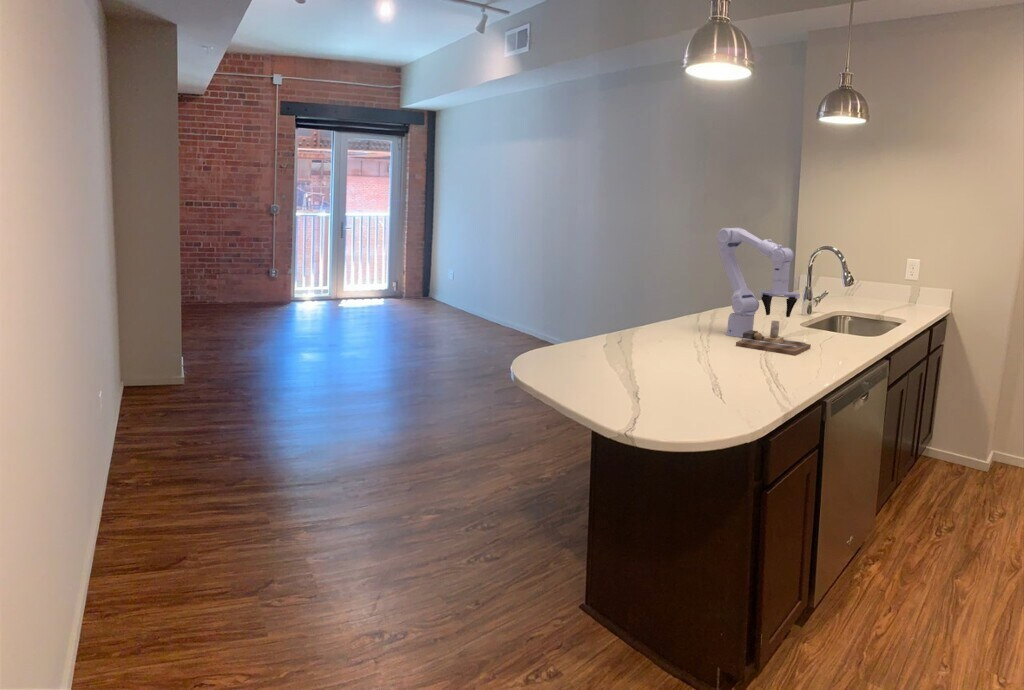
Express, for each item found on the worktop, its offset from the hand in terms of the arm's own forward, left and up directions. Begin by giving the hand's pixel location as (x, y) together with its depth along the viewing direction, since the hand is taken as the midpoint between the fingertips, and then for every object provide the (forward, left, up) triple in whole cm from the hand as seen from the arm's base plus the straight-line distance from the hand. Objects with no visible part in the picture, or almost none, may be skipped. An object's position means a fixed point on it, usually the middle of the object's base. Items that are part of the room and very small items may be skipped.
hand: (777, 315), depth 275 cm
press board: (+2, -9, -10) cm, 14 cm away
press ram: (+2, -9, -9) cm, 13 cm away
